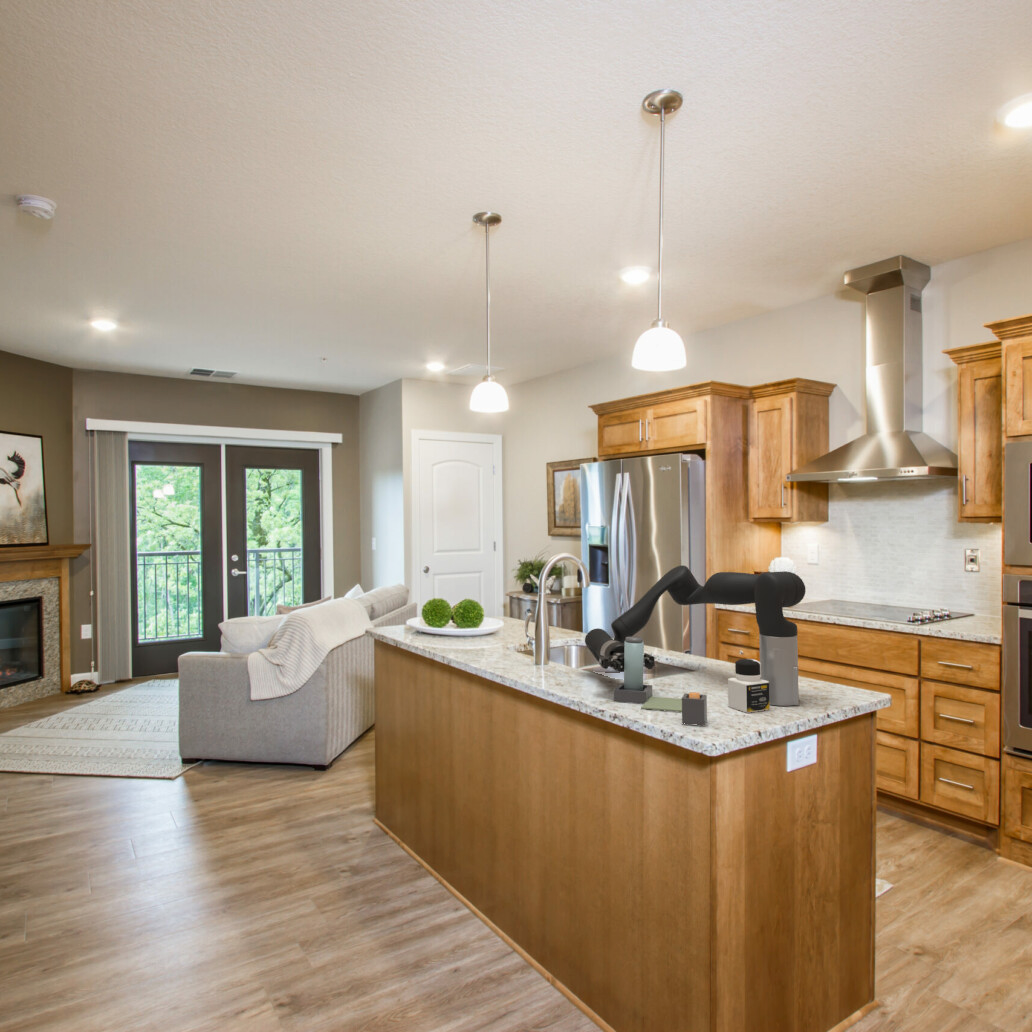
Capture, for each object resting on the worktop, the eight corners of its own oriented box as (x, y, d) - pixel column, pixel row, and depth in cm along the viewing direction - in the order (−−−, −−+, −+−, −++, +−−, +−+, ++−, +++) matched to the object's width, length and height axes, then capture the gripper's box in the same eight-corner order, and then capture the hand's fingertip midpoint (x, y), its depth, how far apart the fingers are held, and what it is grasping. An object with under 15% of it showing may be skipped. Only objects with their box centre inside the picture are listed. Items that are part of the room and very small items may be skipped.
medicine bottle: (747, 713, 176) (746, 663, 176) (727, 706, 183) (726, 658, 183) (770, 710, 179) (769, 661, 179) (750, 703, 186) (749, 656, 186)
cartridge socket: (652, 696, 195) (652, 685, 195) (646, 704, 187) (646, 692, 187) (621, 694, 198) (620, 683, 198) (613, 701, 190) (613, 689, 190)
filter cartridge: (644, 697, 194) (644, 637, 194) (641, 701, 189) (642, 640, 189) (625, 695, 195) (626, 635, 195) (622, 700, 191) (623, 639, 190)
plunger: (700, 716, 170) (700, 692, 170) (699, 719, 167) (698, 694, 168) (690, 715, 171) (689, 691, 171) (688, 718, 168) (688, 694, 168)
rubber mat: (696, 701, 188) (696, 699, 188) (690, 713, 177) (690, 711, 177) (649, 698, 193) (649, 696, 193) (641, 709, 181) (641, 707, 181)
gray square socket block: (707, 720, 170) (706, 694, 171) (704, 726, 166) (704, 699, 166) (685, 718, 172) (684, 693, 172) (682, 724, 168) (681, 698, 168)
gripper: (641, 667, 208) (661, 679, 192) (592, 669, 205) (609, 681, 189) (640, 640, 208) (661, 650, 192) (592, 642, 205) (608, 652, 189)
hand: (635, 666), depth 190 cm, fingers open, 8 cm apart
